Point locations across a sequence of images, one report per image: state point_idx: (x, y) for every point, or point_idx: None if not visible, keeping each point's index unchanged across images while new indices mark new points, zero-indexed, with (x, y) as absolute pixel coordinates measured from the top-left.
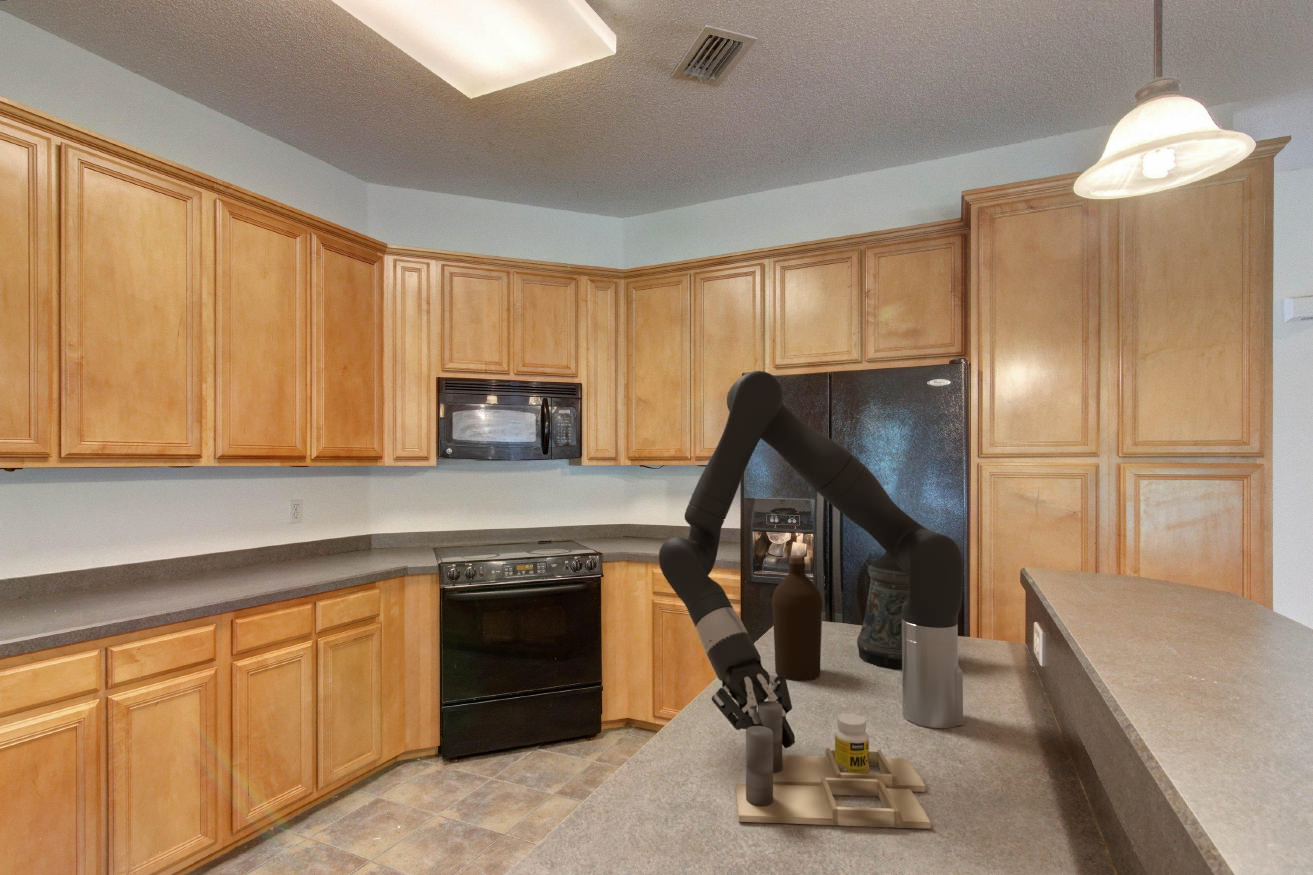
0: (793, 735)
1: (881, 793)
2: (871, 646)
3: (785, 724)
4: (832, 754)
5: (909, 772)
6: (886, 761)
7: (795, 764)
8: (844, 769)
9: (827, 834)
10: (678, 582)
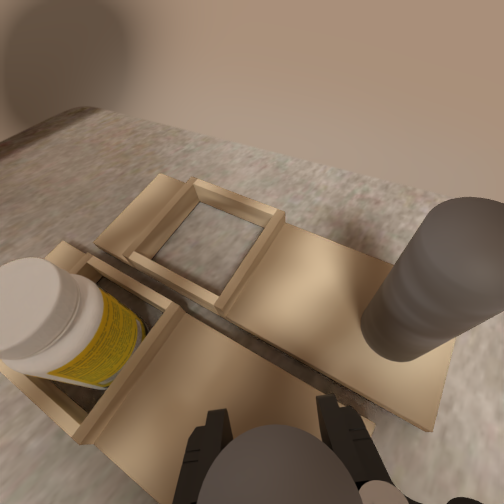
0: (194, 436)
1: (154, 238)
2: None
3: (204, 468)
4: (101, 398)
5: None
6: None
7: None
8: (139, 326)
9: (307, 219)
10: None
